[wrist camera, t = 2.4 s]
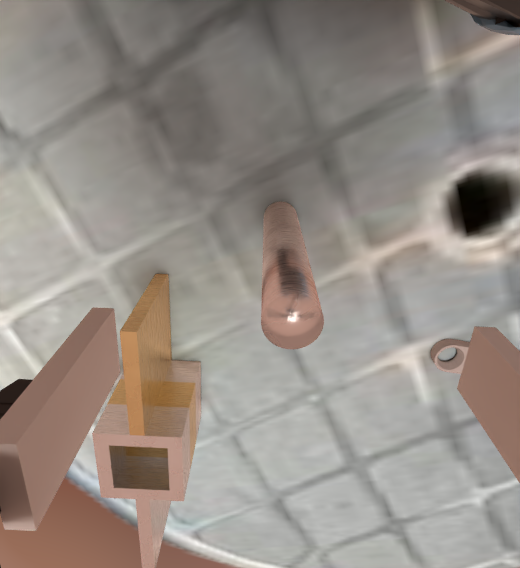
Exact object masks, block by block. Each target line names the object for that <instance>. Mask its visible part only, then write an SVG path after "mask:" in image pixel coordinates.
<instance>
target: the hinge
mask: <svg viewBox="0 0 520 568" xmlns="http://www.w3.org/2000/svg"><path fill="white" fill-rule="evenodd" d="M120 337H121V348H122V358H123V369H124V373H123V375H122V377H121V379H120V381H119V383H118V385H117V386H116V388H115V390H114V392H113V394H112V396H111V398H110V400H109V402H108V404H107V406H106V408H105V410H104V412H103V414H102V416H101V418H100V419H99V421H98V423H97V425H96V427H95V429H94V431H93V433H92V434H93V442H94V449H95V456H96V463H97V470H98V478H99V485H100V492H101V497H106V498H128V499H136V507H137V518H138V529H139V539H140V550H141V561H142V568H155V567H156V563H157V559H158V555H159V551H160V546H161V542H162V538H163V534H164V529H165V525H166V521H167V517H168V512H169V508H170V504H171V501H184V498H185V493H186V488H187V483H188V478H189V473H190V468H191V464H192V459H193V454H194V449H195V444H196V439H197V434H198V429H199V424H200V419H201V362H200V361H180V360H172V354H171V328H170V303H169V277H168V274H155V276H154V277H153V279H152V281H151V282H150V284H149V285H148V287H147V289H146V290H145V292H144V293H143V295H142V297H141V298H140V300H139V301H138V303H137V305H136V306H135V308H134V310H133V311H132V313H131V314H130V316H129V318H128V319H127V321H126V322H125V324H124V326H123V327H122V329H121V330H120Z"/></svg>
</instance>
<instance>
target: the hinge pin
mask: <svg viewBox="0 0 520 568" xmlns="http://www.w3.org/2000/svg"><path fill="white" fill-rule="evenodd" d="M323 324H324V318H323V314H322V310H321V306H320V302H319V298H318V294H317V290H316V286H315V282H314V279H313V275H312V271H311V267H310V263H309V259H308V255H307V251H306V247H305V244H304V240H303V236H302V232H301V228H300V224H299V220H298V216H297V213H296V210H295V209H294V207H293V206H292V205H290V204H289V203H287V202H282V201H279V202H275V203H273V204H271V205H270V206H269V207H268V208H267V209H266V211H265V213H264V225H263V269H262V313H261V325H262V330H263V332H264V334H265V336H266V337H267V339H268V340H269V341H270V342H272V343H273V344H275V345H276V346H278V347H281V348H285V349H298V348H302V347H305V346H307V345H309V344H311V343H312V342H314V341H315V340H316V339H317V338H318V336H319V335H320V333H321V331H322V329H323Z"/></svg>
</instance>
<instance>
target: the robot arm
mask: <svg viewBox="0 0 520 568" xmlns="http://www.w3.org/2000/svg"><path fill="white" fill-rule="evenodd" d="M445 1H447V2H448V3H450V4H452V5H454V6H456V7H458V8H460V9H462V10H464V11H466V12H468V13H470V14H471V16H472V18H473V19H474V21H475V22H476V23H477V24H479V25H481V26H483V27H485V28H487V29H489V30H491V31H494V32H498V33H502V34H506V35H520V0H445ZM119 373H120V366H119V355H118V345H117V334H116V324H115V313H114V309H112V308H92V309H91V310H90V312H89V313H88V314H87V315H86V316H85V318H84V319H83V320H82V321H81V322H80V324H79V325H78V326H77V327H76V329H75V330H74V331H73V332H72V333H71V335H70V336H69V337H68V338H67V339H66V341H65V342H64V343H63V344H62V345H61V347H60V348H59V349H58V350H57V352H56V353H55V354H54V355H53V356H52V358H51V359H50V360H49V361H48V362H47V364H46V365H45V366H44V367H43V368H42V370H41V371H40V372H39V373H38V375H37V376H36V377H35V378H34V379H33V380H26V379H18V380H16V381H15V382H13V383H12V384H10V385H8V386H7V387H5V388H4V389H2V390H1V391H0V514H1V518H2V522H3V525H4V529H7V530H29V531H36V530H37V528H38V526H39V524H40V522H41V520H42V518H43V517H44V515H45V513H46V511H47V509H48V507H49V505H50V503H51V501H52V500H53V498H54V496H55V494H56V492H57V490H58V488H59V486H60V485H61V483H62V481H63V479H64V477H65V475H66V473H67V471H68V469H69V468H70V466H71V464H72V462H73V460H74V458H75V456H76V454H77V453H78V451H79V449H80V447H81V445H82V443H83V441H84V439H85V437H86V436H87V434H88V432H89V430H90V428H91V426H92V424H93V422H94V421H95V419H96V417H97V415H98V413H99V411H100V409H101V407H102V405H103V404H104V402H105V400H106V398H107V396H108V394H109V392H110V390H111V388H112V387H113V385H114V383H115V381H116V379H117V377H118V375H119ZM457 389H458V391H459V392H460V394H461V395H462V397H463V398H464V400H465V401H466V403H467V404H468V406H469V407H470V409H471V410H472V412H473V413H474V415H475V416H476V418H477V419H478V421H479V422H480V424H481V425H482V427H483V428H484V430H485V431H486V433H487V434H488V436H489V437H490V439H491V440H492V442H493V443H494V445H495V446H496V448H497V449H498V451H499V452H500V454H501V455H502V457H503V458H504V460H505V461H506V463H507V464H508V466H509V468H510V469H511V471H512V472H513V474H514V475H515V477H516V478H517V480H518V481H519V483H520V351H519V350H518V349H517V348H516V347H515V346H514V345H513V344H512V343H511V342H510V341H509V340H508V339H507V338H506V337H505V336H504V335H503V334H502V333H501V332H500V331H499V330H498V329H497V328H495V327H474V331H473V334H472V338H471V341H470V345H469V348H468V352H467V355H466V359H465V363H464V366H463V370H462V373H461V377H460V380H459V384H458V387H457ZM0 568H1V566H0Z"/></svg>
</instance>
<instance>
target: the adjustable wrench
mask: <svg viewBox="0 0 520 568" xmlns="http://www.w3.org/2000/svg"><path fill="white" fill-rule="evenodd" d="M469 345H470V342H466V341H460V340H454V339H444V340H441V341H439V342H437V343H436V344H435V345H434V346H433V348H432V349H431V358H432V360H433V362H434V363H435V365H436V366H437V368H439V369H440V370H442V371H445V372H452V373H459V374H461V373H462V370H463V366H464V363H465V359H466V355H467V352H468V348H469ZM450 347H455V348H456V349H457V354H456V356H455V357H454V358H453V359H451V360H450V361H440V360H439V359H438V355H439V354H440V352H442V351H443V350H444V349H446V348H450Z"/></svg>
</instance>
